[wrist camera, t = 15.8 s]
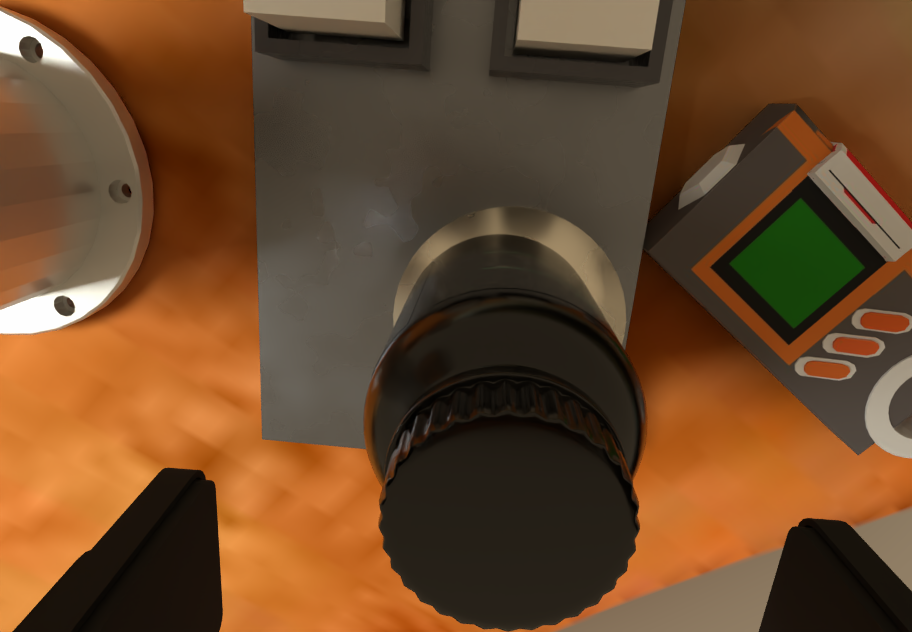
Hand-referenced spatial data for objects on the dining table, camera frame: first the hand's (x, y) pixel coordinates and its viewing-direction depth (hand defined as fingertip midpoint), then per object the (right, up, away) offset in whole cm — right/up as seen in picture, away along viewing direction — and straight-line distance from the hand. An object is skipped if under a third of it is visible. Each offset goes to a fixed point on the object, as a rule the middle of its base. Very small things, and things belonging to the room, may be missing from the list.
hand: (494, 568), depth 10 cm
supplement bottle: (+1, +4, +13) cm, 13 cm away
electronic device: (+14, +5, +14) cm, 21 cm away
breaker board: (-1, +9, +13) cm, 16 cm away
